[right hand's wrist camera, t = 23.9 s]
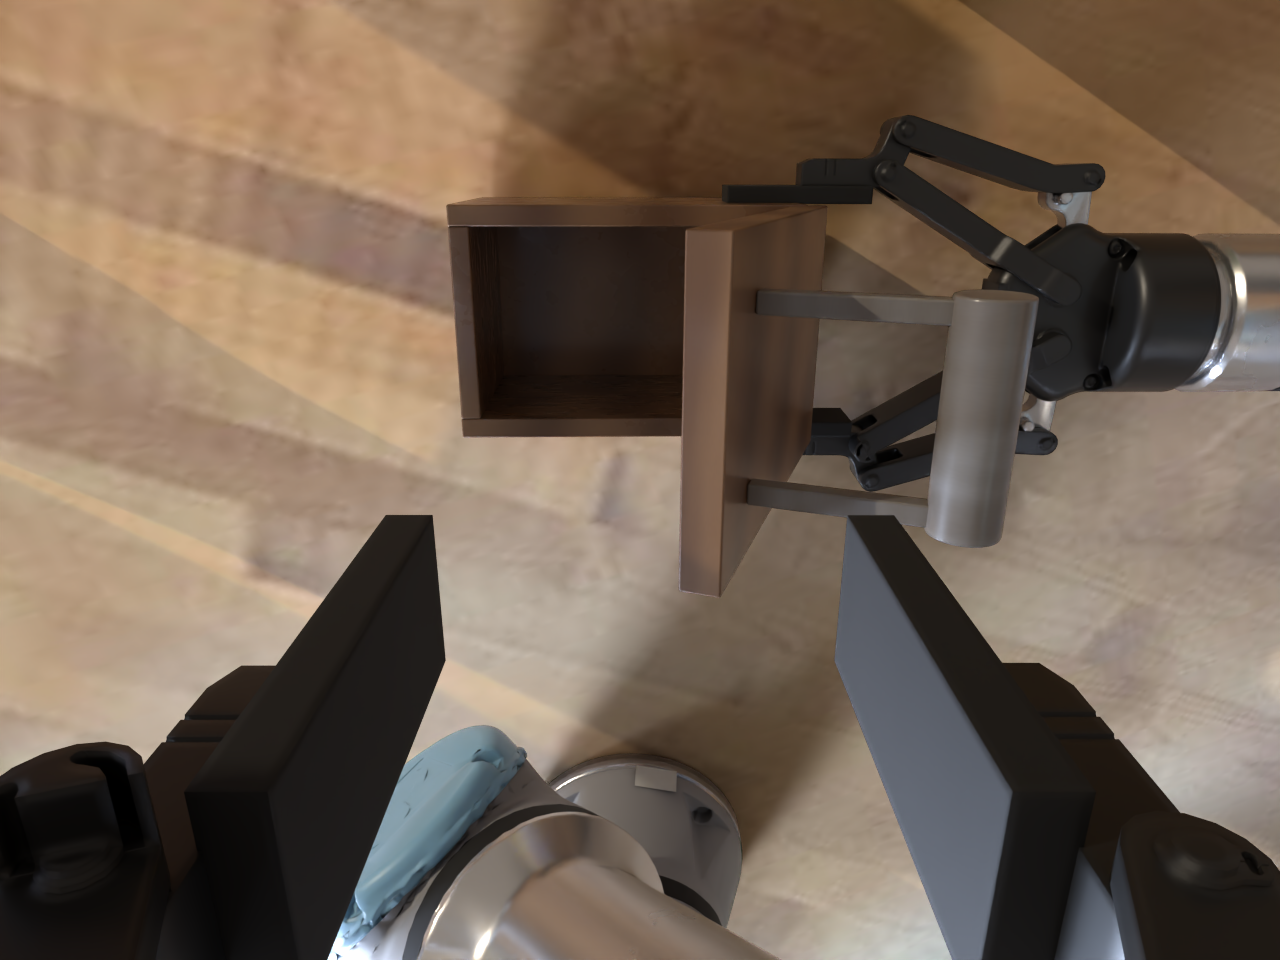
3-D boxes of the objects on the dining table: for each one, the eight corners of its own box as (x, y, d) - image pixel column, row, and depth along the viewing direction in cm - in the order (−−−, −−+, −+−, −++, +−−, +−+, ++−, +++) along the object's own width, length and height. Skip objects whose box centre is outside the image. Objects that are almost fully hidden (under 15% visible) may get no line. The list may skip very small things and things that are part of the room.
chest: (491, 387, 49) (462, 437, 40) (480, 197, 45) (445, 204, 36) (760, 386, 49) (793, 436, 40) (770, 197, 46) (808, 204, 36)
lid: (677, 591, 25) (995, 644, 22) (684, 228, 22) (1062, 238, 19) (782, 438, 40) (984, 459, 37) (796, 205, 36) (1021, 208, 33)
